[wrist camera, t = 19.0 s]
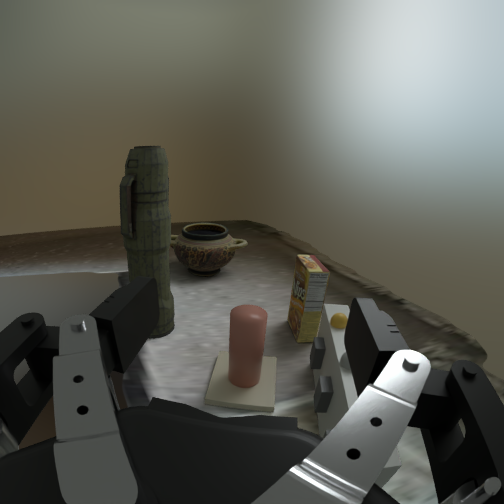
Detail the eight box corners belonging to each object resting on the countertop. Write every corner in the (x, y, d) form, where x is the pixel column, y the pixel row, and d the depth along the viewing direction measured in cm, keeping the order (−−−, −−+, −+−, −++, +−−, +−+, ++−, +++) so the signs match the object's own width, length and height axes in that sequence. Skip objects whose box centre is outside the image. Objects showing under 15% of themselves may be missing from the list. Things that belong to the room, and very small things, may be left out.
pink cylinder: (261, 368, 45) (268, 306, 41) (258, 389, 41) (266, 326, 37) (231, 364, 46) (233, 302, 42) (225, 385, 41) (227, 321, 37)
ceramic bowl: (158, 282, 82) (150, 238, 74) (177, 249, 97) (173, 209, 89) (241, 293, 80) (242, 247, 72) (249, 257, 95) (251, 215, 87)
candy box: (286, 320, 63) (295, 254, 58) (304, 319, 64) (314, 254, 59) (296, 343, 55) (308, 271, 50) (317, 342, 55) (331, 271, 50)
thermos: (120, 335, 52) (105, 147, 41) (149, 308, 63) (144, 147, 52) (159, 347, 50) (150, 145, 39) (184, 317, 61) (184, 146, 50)
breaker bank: (333, 362, 49) (349, 296, 45) (357, 511, 21) (410, 454, 16) (303, 360, 50) (316, 293, 45) (310, 515, 21) (348, 462, 17)
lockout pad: (275, 362, 49) (276, 357, 49) (273, 412, 38) (274, 407, 37) (219, 356, 50) (219, 350, 49) (205, 403, 38) (204, 398, 38)
